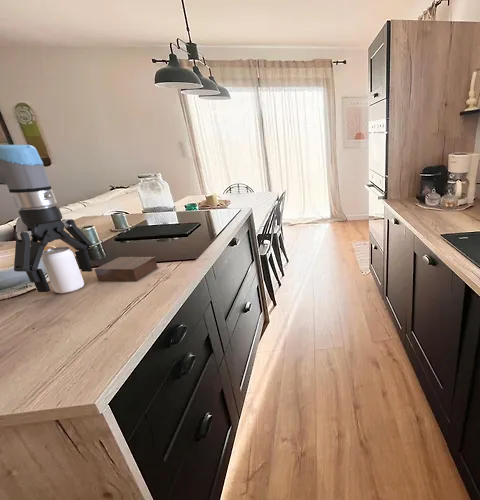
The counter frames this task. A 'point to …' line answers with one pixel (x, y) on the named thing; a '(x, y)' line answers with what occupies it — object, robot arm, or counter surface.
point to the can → (62, 269)
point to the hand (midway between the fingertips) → (67, 280)
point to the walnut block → (126, 269)
